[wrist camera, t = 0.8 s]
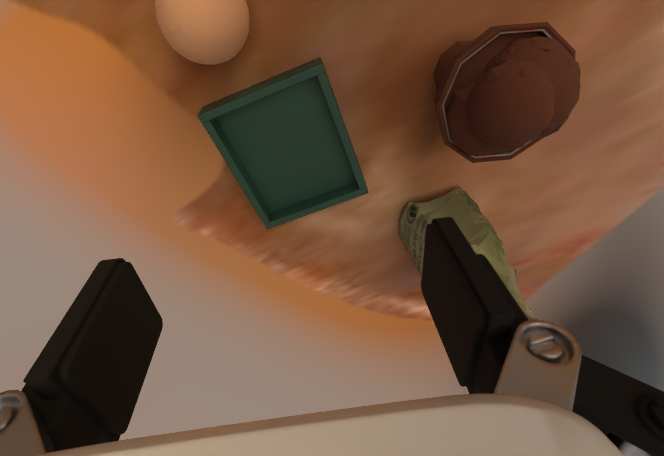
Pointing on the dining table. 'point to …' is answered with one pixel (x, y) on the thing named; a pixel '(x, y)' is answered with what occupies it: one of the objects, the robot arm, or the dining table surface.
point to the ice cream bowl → (505, 90)
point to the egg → (204, 28)
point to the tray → (287, 144)
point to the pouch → (470, 225)
